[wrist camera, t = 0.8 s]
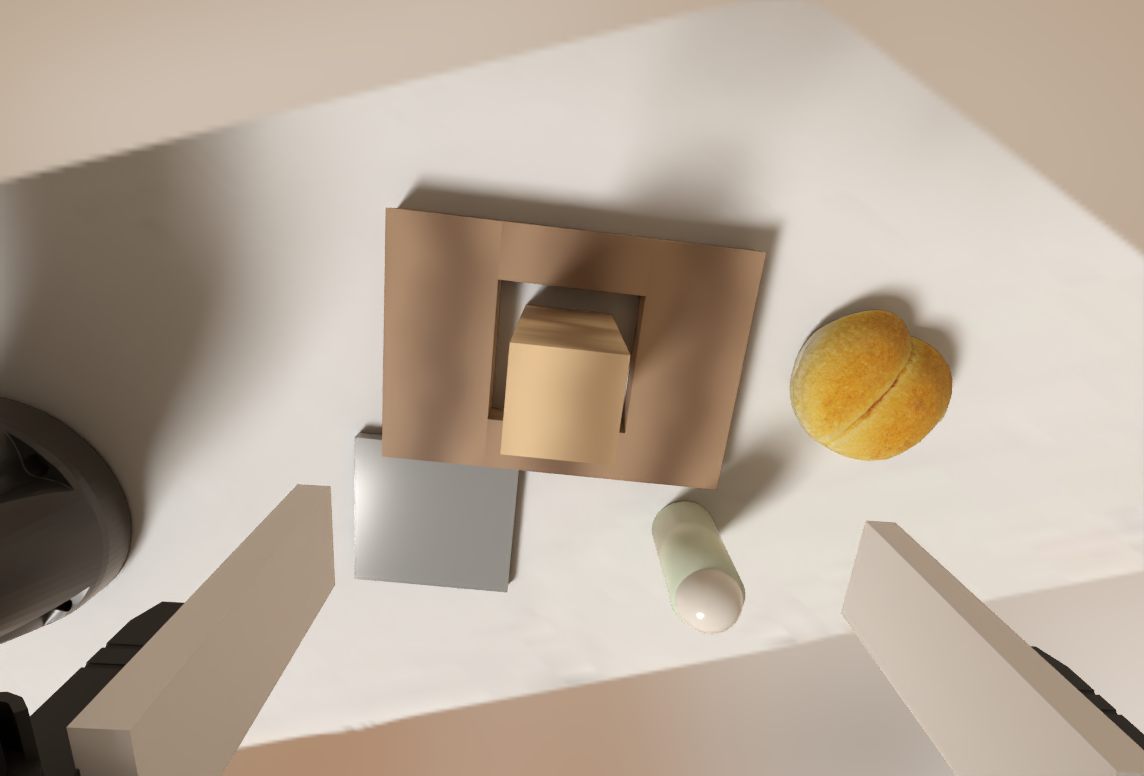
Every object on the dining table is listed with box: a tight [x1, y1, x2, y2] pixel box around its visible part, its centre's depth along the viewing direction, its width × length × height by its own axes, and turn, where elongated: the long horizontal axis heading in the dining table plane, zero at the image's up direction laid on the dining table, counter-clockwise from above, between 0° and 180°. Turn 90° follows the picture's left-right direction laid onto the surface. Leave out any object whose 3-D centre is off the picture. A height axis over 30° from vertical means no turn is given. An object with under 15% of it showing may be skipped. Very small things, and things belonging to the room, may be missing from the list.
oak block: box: [500, 305, 630, 466], centre depth 29 cm, size 5×5×10 cm
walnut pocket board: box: [382, 208, 766, 490], centre depth 33 cm, size 20×14×2 cm
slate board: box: [355, 433, 519, 592], centre depth 36 cm, size 10×10×1 cm
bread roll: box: [790, 310, 952, 461], centre depth 33 cm, size 8×9×4 cm
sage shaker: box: [652, 501, 745, 634], centre depth 33 cm, size 4×4×9 cm
